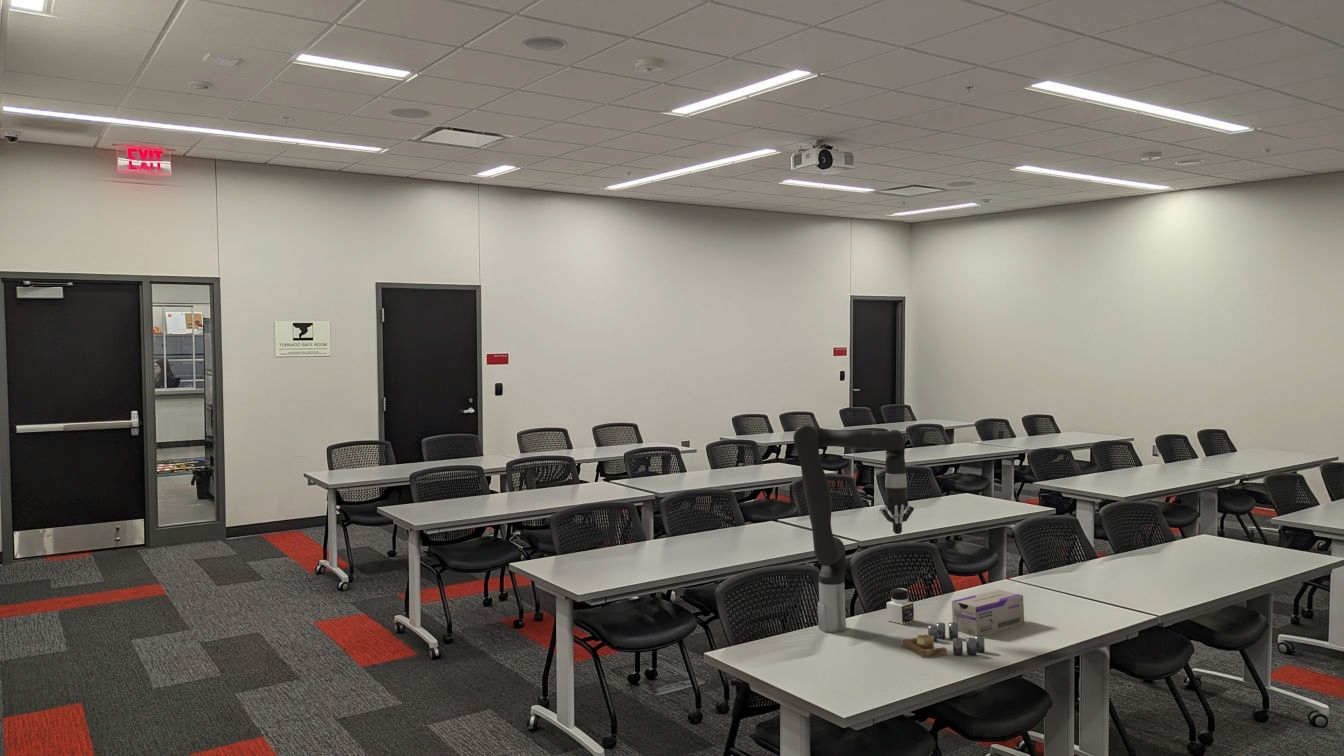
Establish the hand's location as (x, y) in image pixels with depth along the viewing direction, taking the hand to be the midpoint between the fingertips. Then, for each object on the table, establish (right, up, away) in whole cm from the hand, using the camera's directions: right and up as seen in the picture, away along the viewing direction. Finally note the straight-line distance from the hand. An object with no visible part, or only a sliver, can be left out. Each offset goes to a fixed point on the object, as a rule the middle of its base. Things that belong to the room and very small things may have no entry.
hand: (897, 533), depth 318 cm
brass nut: (+3, -35, -23) cm, 42 cm away
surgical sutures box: (+33, -34, 0) cm, 47 cm away
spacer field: (+14, -34, -20) cm, 42 cm away
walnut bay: (+4, -35, -23) cm, 42 cm away
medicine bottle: (+4, -35, +11) cm, 37 cm away
